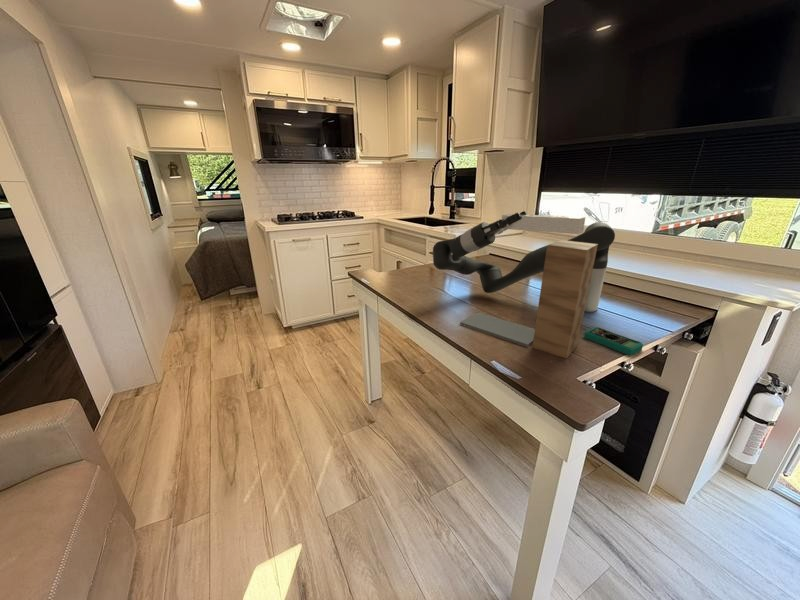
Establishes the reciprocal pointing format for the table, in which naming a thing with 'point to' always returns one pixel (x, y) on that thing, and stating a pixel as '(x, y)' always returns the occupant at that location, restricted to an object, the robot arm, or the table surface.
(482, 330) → the rubber mat
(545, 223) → the aluminium bar
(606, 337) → the digital multimeter
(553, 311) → the walnut stand
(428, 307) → the table surface
